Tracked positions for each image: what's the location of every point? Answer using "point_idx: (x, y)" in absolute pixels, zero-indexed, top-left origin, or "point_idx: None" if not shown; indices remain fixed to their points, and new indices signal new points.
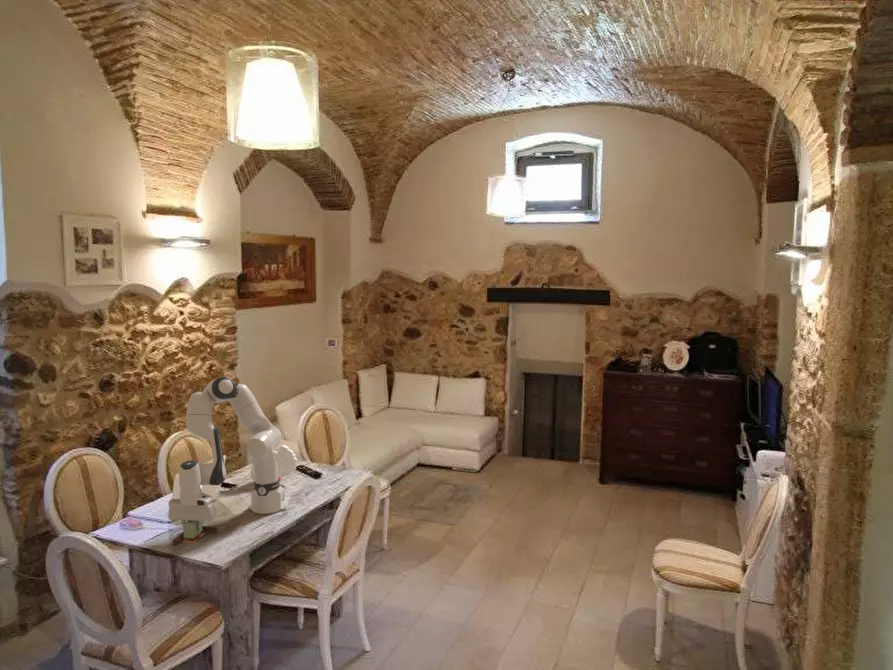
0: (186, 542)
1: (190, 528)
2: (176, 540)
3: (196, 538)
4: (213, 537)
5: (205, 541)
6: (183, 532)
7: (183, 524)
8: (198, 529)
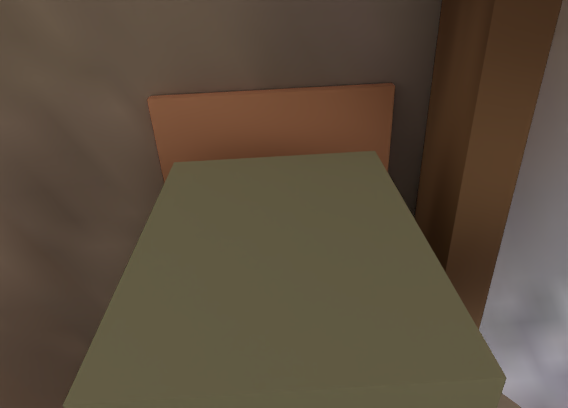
0: (295, 89)
1: (202, 288)
2: (478, 7)
3: None
4: (20, 301)
5: (26, 183)
6: (406, 206)
7: (486, 388)
8: None
